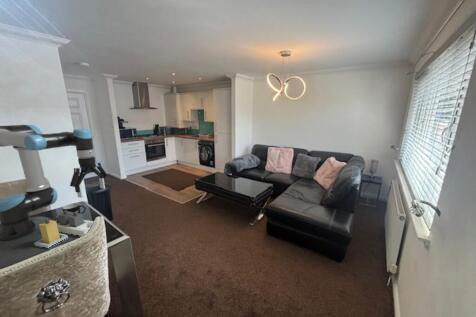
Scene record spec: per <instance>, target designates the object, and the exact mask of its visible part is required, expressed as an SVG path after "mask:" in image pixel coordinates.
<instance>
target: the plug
mask: <svg viewBox="0 0 476 317" xmlns="http://www.w3.org/2000/svg"><path fill="white" fill-rule="evenodd" d="M57 224H58V223H57V221H56V220H51V219H50V218H46V219H44V222H42V223H39V225H38V226H39V229H40V233H41V234H40V235H41V237H42V238H41V239H43V243H45V244H50V243H52V242H53V241H55V240H57V239H59V238H60V236H59V233H60V232H58V227H57Z"/></svg>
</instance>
